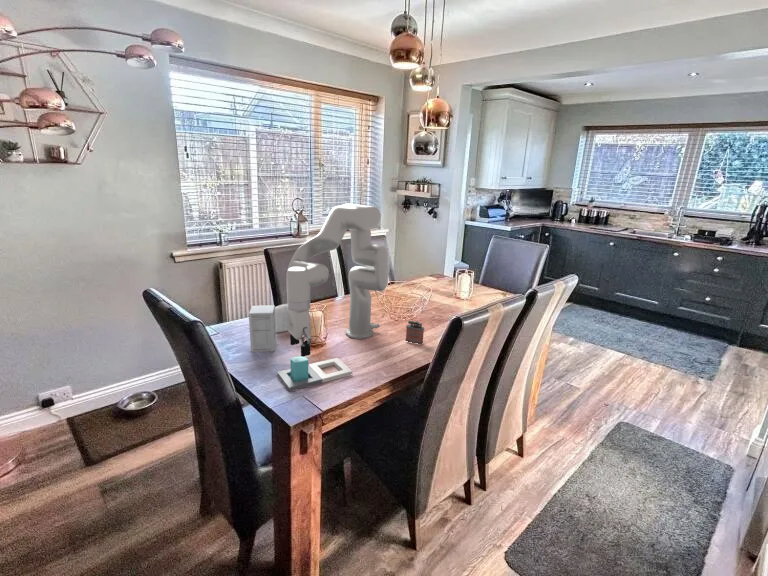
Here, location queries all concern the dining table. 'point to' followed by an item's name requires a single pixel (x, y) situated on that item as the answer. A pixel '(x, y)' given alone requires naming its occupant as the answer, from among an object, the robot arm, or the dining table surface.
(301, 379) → the plug
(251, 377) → the dining table surface
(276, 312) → the grey toy tombstone
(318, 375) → the panel
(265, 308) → the supplement box
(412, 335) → the lighter
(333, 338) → the dining table surface
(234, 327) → the dining table surface
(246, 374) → the dining table surface
